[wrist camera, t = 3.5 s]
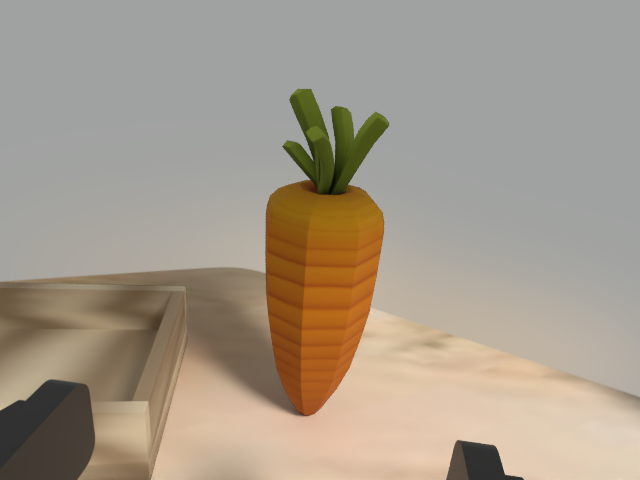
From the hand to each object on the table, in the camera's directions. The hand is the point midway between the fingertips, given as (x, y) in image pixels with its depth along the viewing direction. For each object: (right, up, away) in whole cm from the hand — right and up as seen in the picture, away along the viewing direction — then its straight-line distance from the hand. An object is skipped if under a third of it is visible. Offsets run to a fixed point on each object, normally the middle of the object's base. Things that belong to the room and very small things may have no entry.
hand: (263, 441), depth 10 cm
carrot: (+1, -4, +13) cm, 14 cm away
